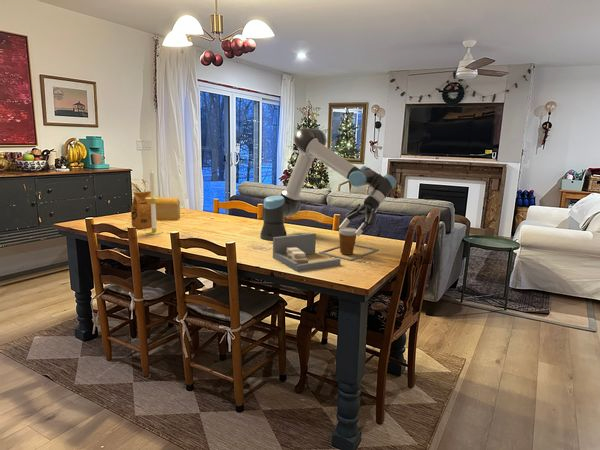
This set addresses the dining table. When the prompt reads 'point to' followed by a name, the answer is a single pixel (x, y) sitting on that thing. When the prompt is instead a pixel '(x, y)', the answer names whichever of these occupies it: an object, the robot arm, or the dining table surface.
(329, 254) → the empty picture frame
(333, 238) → the dining table surface
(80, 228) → the dining table surface
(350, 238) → the disposable coffee cup
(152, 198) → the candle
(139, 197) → the coffee package
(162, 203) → the bread
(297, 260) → the offcut stack
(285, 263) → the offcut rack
